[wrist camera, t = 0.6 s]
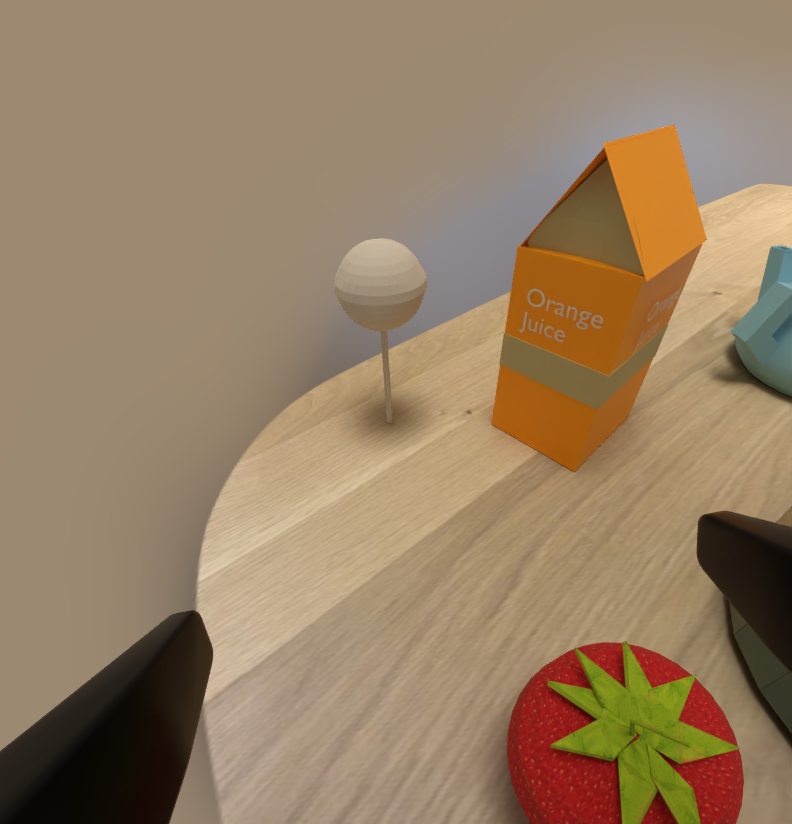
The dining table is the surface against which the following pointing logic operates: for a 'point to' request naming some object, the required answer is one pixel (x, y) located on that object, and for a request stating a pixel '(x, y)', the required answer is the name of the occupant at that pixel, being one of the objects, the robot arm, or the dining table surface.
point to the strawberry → (622, 743)
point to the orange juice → (596, 297)
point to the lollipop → (380, 291)
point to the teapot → (770, 325)
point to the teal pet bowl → (766, 660)
